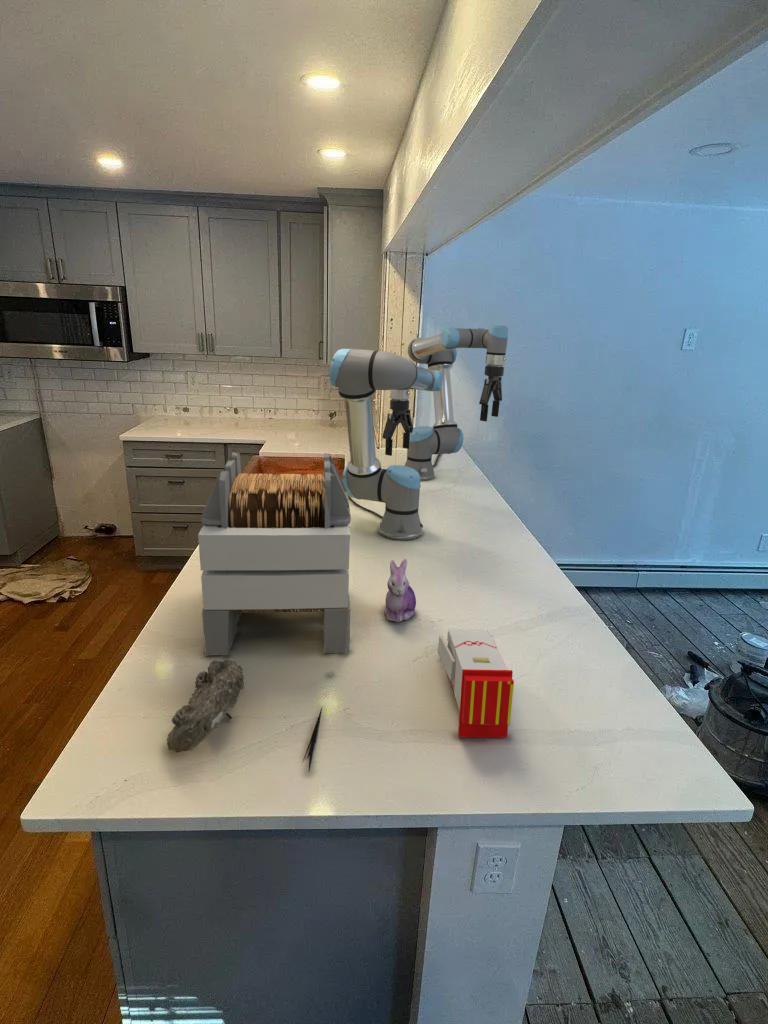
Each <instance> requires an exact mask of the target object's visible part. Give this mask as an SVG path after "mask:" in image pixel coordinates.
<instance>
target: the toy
mask: <svg viewBox="0 0 768 1024" xmlns="http://www.w3.org/2000/svg"><path fill="white" fill-rule="evenodd" d="M446 640H447V643H446V641H445V639H444V636H443V635H442V634H439V637H438V646H437V656H438V657H439V659H440V661H441V663H442V666H443V668H444V670H445V672H446V674H447V677H448V679H449V681H450V684H451V687H452V690H453V693H454V697H455V701H456V705H457V708H458V711H459V714H458V715H459V716H458V730H457V731H458V732H457V737H458V738H508V731H509V726H510V725H511V717H512V707H513V697H514V696H513V695H514V684H515V680H514V679H513V673H514V671H513V670H512V669H508V667H507V665H506V662H505V661H504V659H503V658H502V655H501V653H500V651H499V649H498V647H497V643H496V639H495V637H494V635H493V634H491V632H490V631H489V629H467V628H466V629H465V628H463V629H461V628H460V629H459V628H448V630H447V639H446Z"/></svg>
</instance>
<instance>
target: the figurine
mask: <svg viewBox="0 0 768 1024" xmlns="http://www.w3.org/2000/svg"><path fill="white" fill-rule="evenodd" d="M407 567H408V559H406V558H404V559H403V560H402V561H401V563H400V565H399V566H398V565H397V563H396V562H395V561H394V560H393V559H391V560H390V561H389V570H390V576H389V578H388V579H387V589H388V591H387V592H386V594H385V595H386V596H385V607H384V615H385V616H386V620H387V621H391V622H395V623H400V622H402V621H406V620H409V619H410V618H411V617H413V616H414V615H415V610H416V606H417V597H416V593H415V591H414V590H413V587H411V586H410V582H409V579H408V577H407V574H406V571H407Z"/></svg>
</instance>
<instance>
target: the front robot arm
mask: <svg viewBox="0 0 768 1024" xmlns="http://www.w3.org/2000/svg"><path fill="white" fill-rule="evenodd" d="M442 381H443V375H442V372H441V371H438V370H428V368H425V367H422V366H419V365H416V363H415V362H414V361H413V360H412V359H409V358H407V357H405V356H401V355H399V354H397V353H394V352H391V351H387V350H373V349H359V348H352V347H351V348H339V349H338V350H337V351H336V352H335V353H334V355H333V357H332V359H331V363H330V367H329V383H330V384H331V386H332V387H335V388H337V389H338V390H337V391H338V395H339V397H340V398H341V399H343V401H344V410H345V420H346V427H347V436H348V446H349V455H350V456H349V457H350V460H349V461H348V462H347V464H346V466H345V467H344V469H343V472H342V478H341V479H342V482H343V484H344V486H345V488H346V490H347V495H348V500H349V501H350V502H351V503H352V504H354V505H355V506H356V507H358V508H359V509H362V510H364V511H366V512H368V513H370V514H372V515H375V516H376V517H378V518H380V519H381V522H379V526H378V533H379V534H380V535H381V536H382V537H385V538H387V539H389V540H395V541H410V540H415V539H418V538H420V537H421V536H422V535H423V529H424V526H423V524H422V523H421V518H420V515H419V507H420V506H419V505H420V496H421V495H420V494H421V493H420V492H421V481H420V475H419V473H418V472H417V471H416V470H414V469H412V468H409V467H406V466H405V465H399V464H398V465H397V464H391V465H388V466H387V468H382V464H381V463H382V462H381V461H380V459H378V458H377V455H376V443H375V431H374V417H373V405H372V397H373V395H375V393H376V391H390V393H389V395H390V396H389V398H390V400H389V409H390V410H392V413H389V412H388V413H387V416H386V417H387V418H386V421H385V425H384V428H383V432H382V435H381V438H382V439H383V440H385V445H384V446H385V449H384V450H385V451H384V455H386V456H390V457H391V456H393V436H394V433H395V431H396V430H397V427H398V426H399V425H400V424H401V426H402V429H403V431H404V432H403V433H402V449H405V450H407V449H409V441H410V433H412V432H413V428H414V425H413V421H412V416H411V409H410V400H409V399H410V394H411V392H410V391H411V390H415V391H416V390H417V391H426V392H433V391H439V390H440V389H441V387H442ZM354 499H356V500H364V501H371V502H376V503H377V502H378V503H384V505H385V507H384V508H385V509H384V513H383V515H381V514H379V513H378V512H376V511H374V510H371V509H369V508H367V507H364V506H362V505H360V504H359V503H357V502H356V501H355V500H354Z"/></svg>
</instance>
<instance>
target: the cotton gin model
mask: <svg viewBox="0 0 768 1024" xmlns="http://www.w3.org/2000/svg"><path fill="white" fill-rule="evenodd" d="M241 463H242V462H241V453H240V452H235V451H233V452H231V455H230V457H229V459H227V460H226V463H225V466H224V468H223V470H222V471H220V474H219V475H218V477H217V479H216V482H215V483H214V486H213V489H212V491H211V494H210V495H209V498H208V499H207V502H206V505H205V507H204V509H203V511H202V514H201V517H200V520H201V524H202V527H201V529H200V530H199V532H198V535H197V538H198V550H199V552H198V553H199V563H200V565H199V567H200V571H202V573H201V575H200V580H201V581H200V582H201V594H202V605H203V607H202V609H201V610H202V611H201V617H202V629H203V638H204V639H203V640H204V649H205V650H204V651H205V652H204V655H205V656H206V657H212V656H228V654H229V652H230V650H231V647H232V645H233V643H234V640H235V638H236V635H237V632H238V623H240V620H241V617H242V614H244V613H250V614H251V613H253V614H254V613H257V614H258V613H298V612H301V613H302V612H308V613H309V612H322V614H323V654H344V655H346V654H347V653H349V652H350V639H351V604H350V595H349V594H350V593H349V586H350V585H349V584H350V572H349V571H350V570H349V569H350V549H351V548H350V547H351V545H350V542H351V533H350V532H351V531H350V526H349V525H350V524H351V520H352V516H351V515H352V514H351V509H350V502H349V498H348V495H347V490H346V488H345V486H344V484H343V482H342V479H343V478H341V474H340V473H339V471H338V469H337V466H336V465H335V462H334V460H333V458H332V455H331V454H330V453H326V452H324V453H323V473H322V474H321V473H318V474H316V475H315V474H314V473H306V474H303V475H302V474H301V473H280V474H273V473H244V472H243V473H242V466H241Z"/></svg>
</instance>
